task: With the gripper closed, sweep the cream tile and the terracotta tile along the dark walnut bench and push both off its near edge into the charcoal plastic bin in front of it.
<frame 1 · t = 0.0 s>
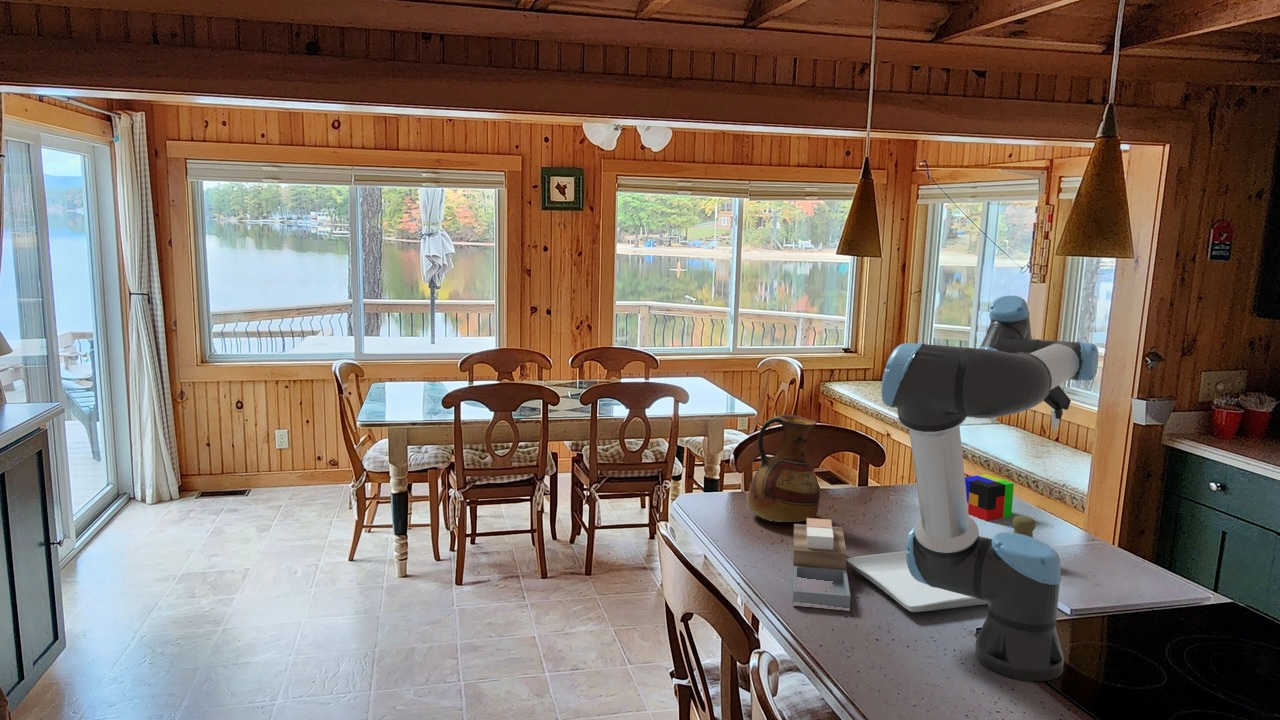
hand: (1024, 422, 193), 36 cm above the kitchen island, tool tilted 35°, fingers open, 13 cm apart
puzzle toy: (984, 514, 236), on the kitchen island
cream tile: (819, 544, 193), point 7 cm above the kitchen island, touching walnut bench
walnut bench: (818, 565, 197), on the kitchen island
terracotta tile: (818, 534, 199), point 7 cm above the kitchen island, touching walnut bench
square plate: (925, 590, 185), on the kitchen island
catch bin: (820, 595, 181), on the kitchen island
ceramic pitcher: (782, 519, 231), on the kitchen island
cork: (1021, 560, 202), on the kitchen island
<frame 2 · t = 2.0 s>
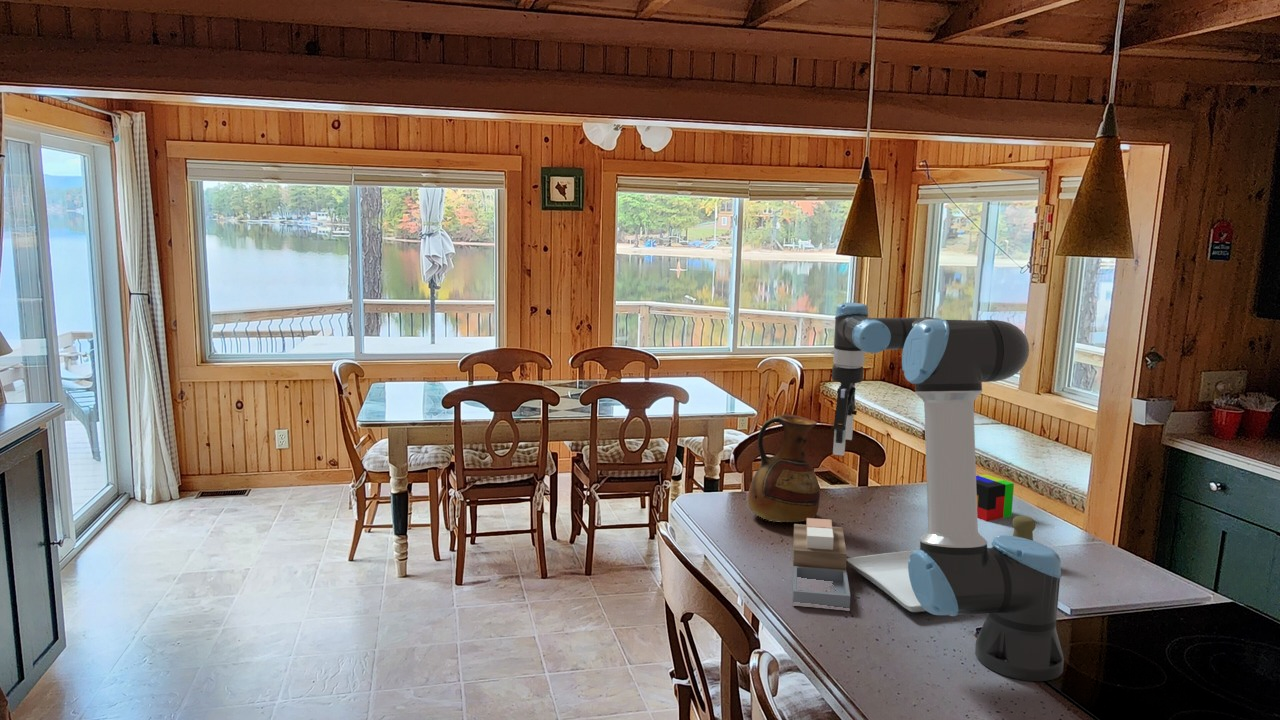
hand: (842, 446, 205), 27 cm above the kitchen island, tool pointing down, fingers open, 13 cm apart
nothing on the kitchen island moved.
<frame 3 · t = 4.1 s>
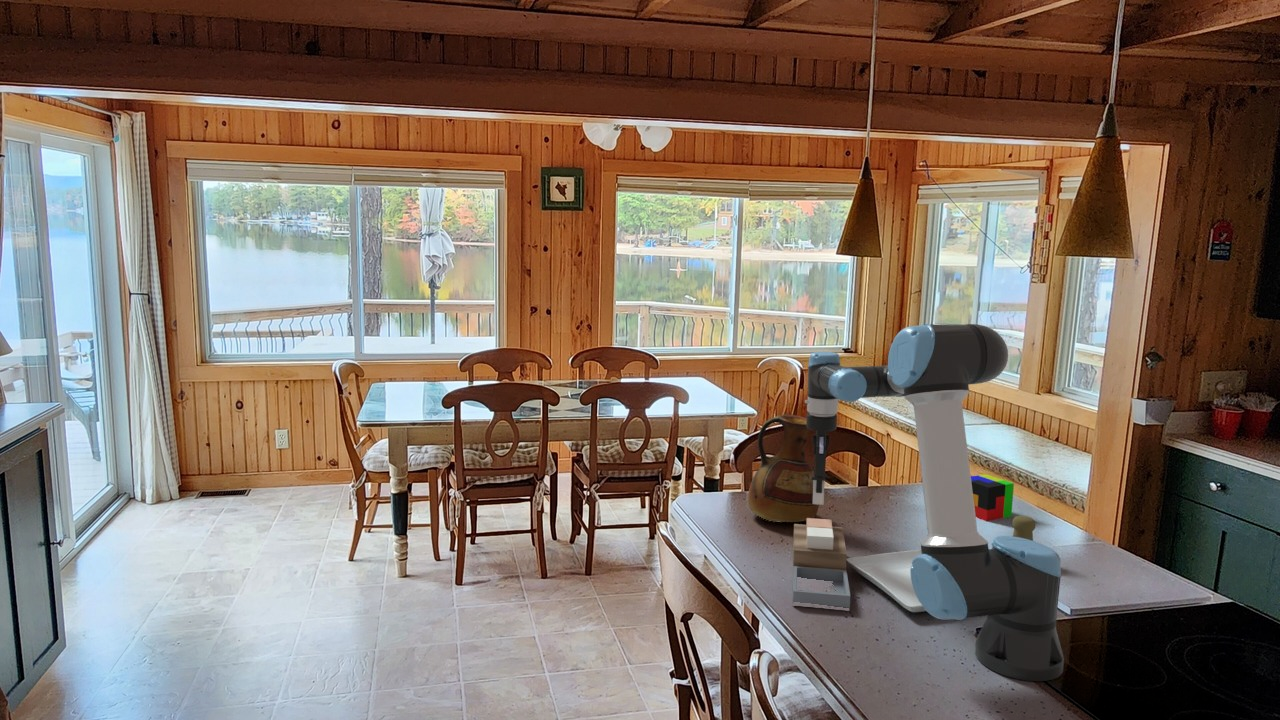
hand: (818, 503, 207), 12 cm above the kitchen island, tool pointing down, fingers closed
nothing on the kitchen island moved.
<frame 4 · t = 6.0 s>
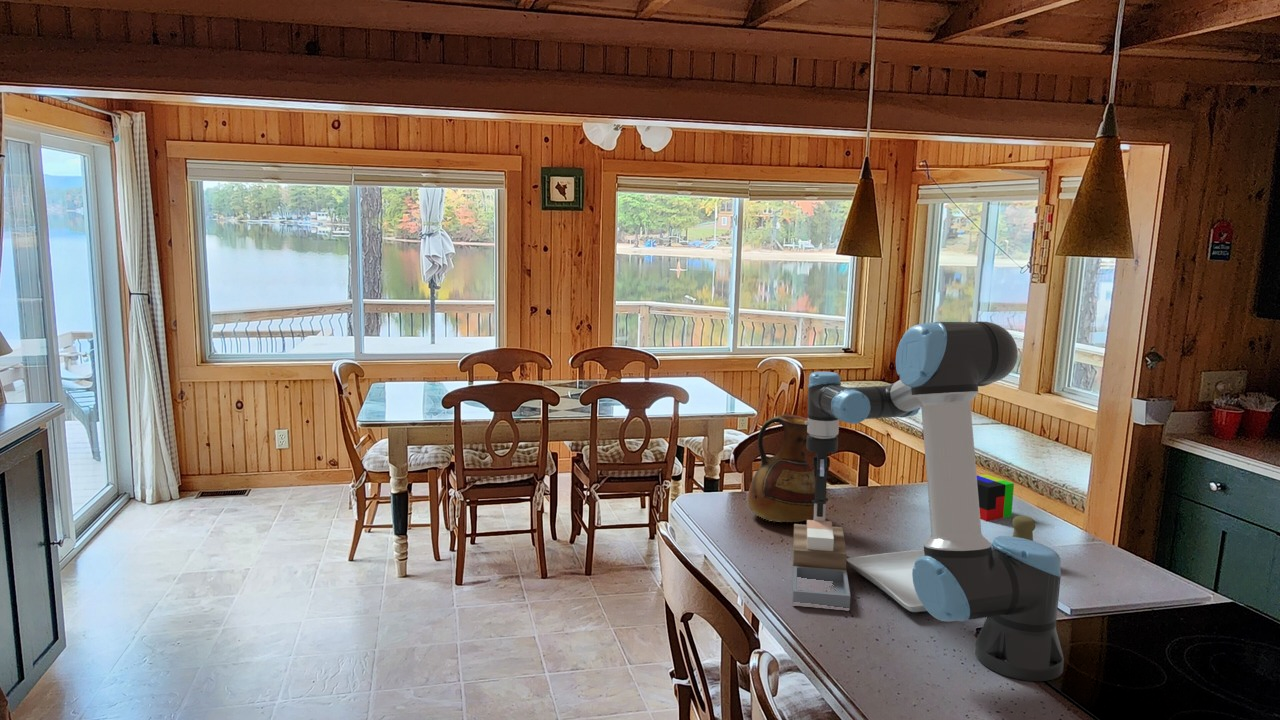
hand: (819, 527, 201), 8 cm above the kitchen island, tool pointing down, fingers closed
terracotta tile: (819, 536, 198), point 7 cm above the kitchen island, touching gripper
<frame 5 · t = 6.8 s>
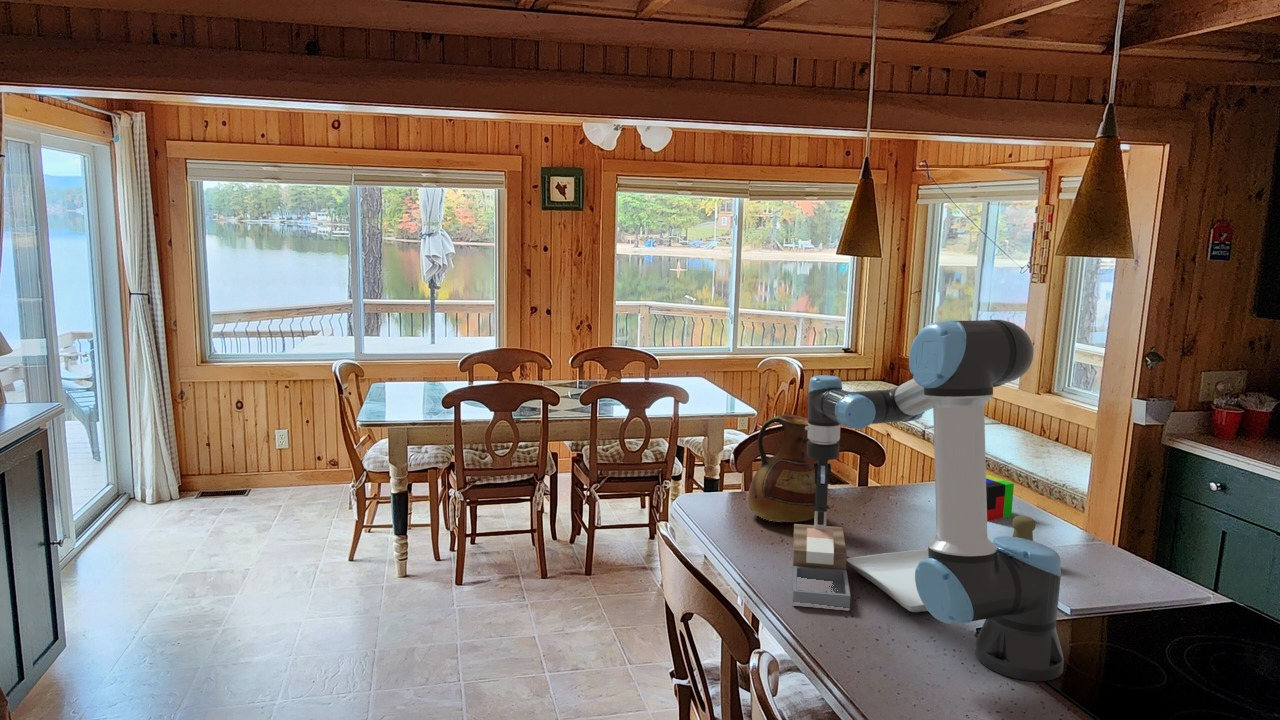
hand: (819, 535, 195), 8 cm above the kitchen island, tool pointing down, fingers closed
cream tile: (819, 556, 186), point 7 cm above the kitchen island, tilted 12°
terracotta tile: (819, 545, 192), point 7 cm above the kitchen island, touching gripper, walnut bench
everything else where it was.
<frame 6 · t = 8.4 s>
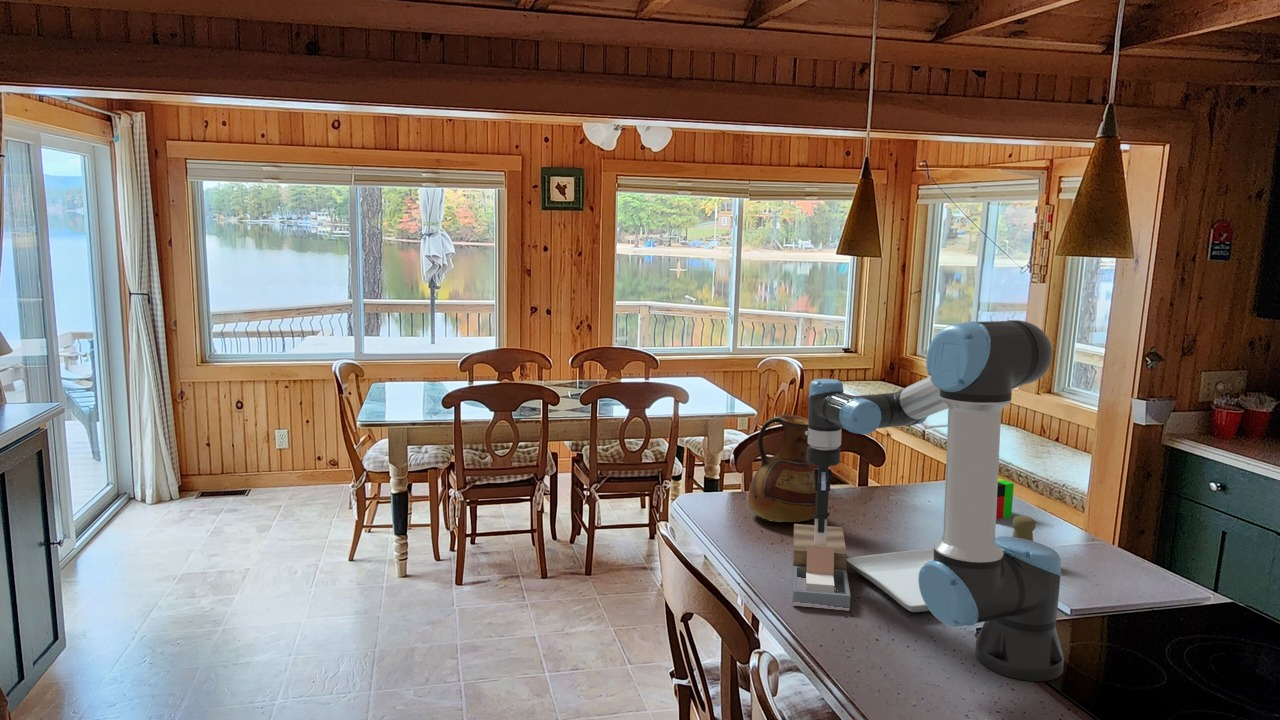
hand: (820, 543, 189), 8 cm above the kitchen island, tool pointing down, fingers closed
cream tile: (819, 578, 180), point 4 cm above the kitchen island, tilted 180°, touching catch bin, terracotta tile
terracotta tile: (819, 561, 187), point 5 cm above the kitchen island, tilted 61°, touching cream tile, walnut bench
everything else where it was.
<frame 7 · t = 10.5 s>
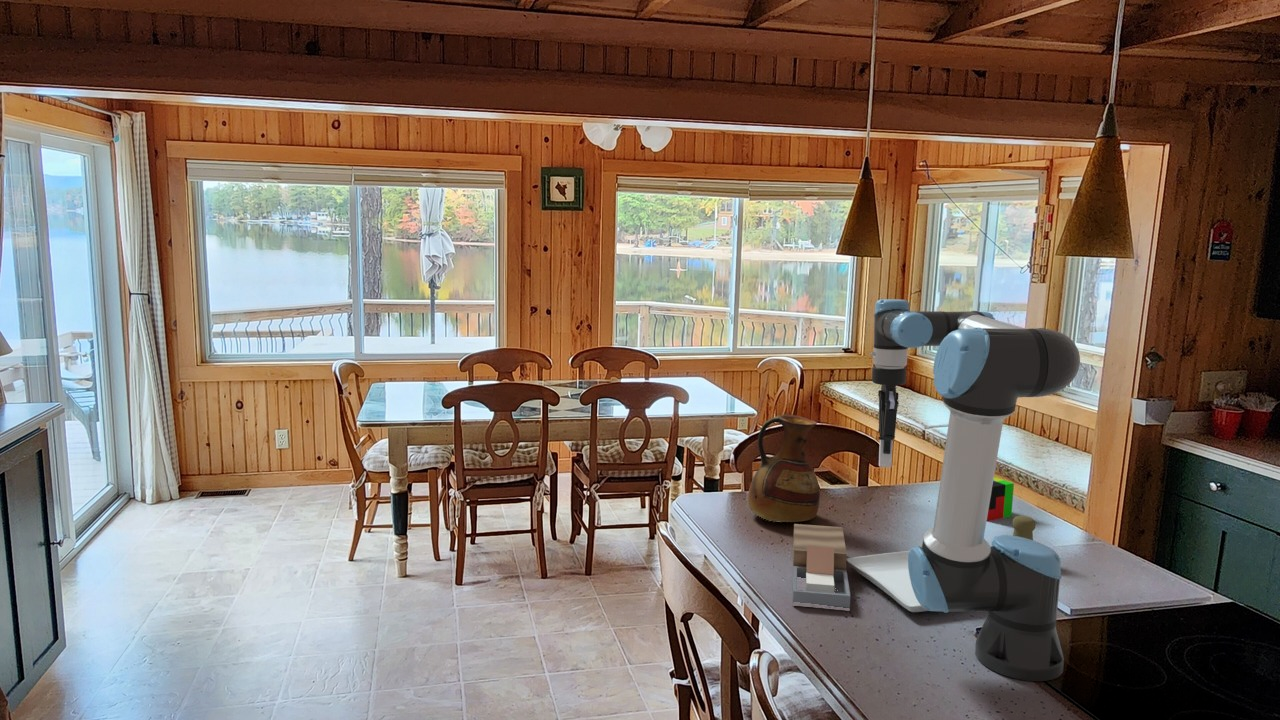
hand: (885, 466, 189), 26 cm above the kitchen island, tool pointing down, fingers closed
nothing on the kitchen island moved.
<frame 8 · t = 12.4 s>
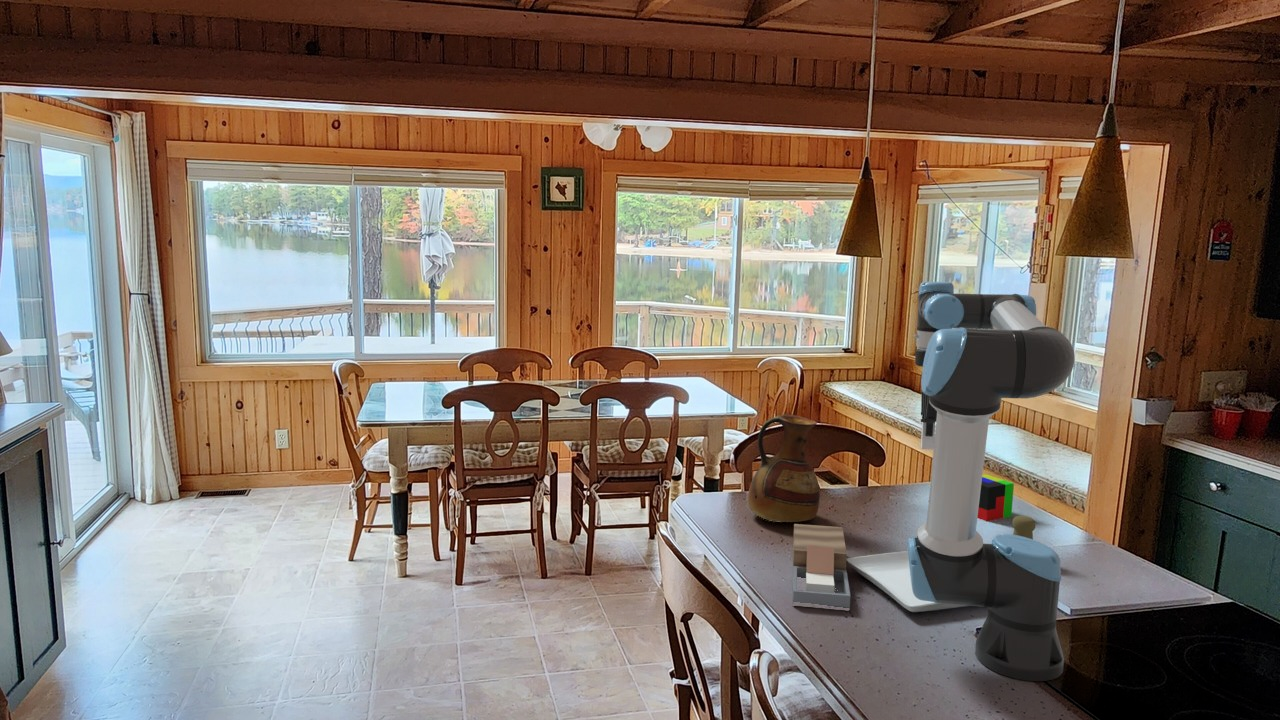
hand: (927, 448, 190), 30 cm above the kitchen island, tool pointing down, fingers closed
nothing on the kitchen island moved.
at the end: cream tile inside the target area on the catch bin (0.2 cm from its centre), point 3.8 cm above the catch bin's base; terracotta tile inside the target area on the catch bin (6.7 cm from its centre), point 5.1 cm above the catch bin's base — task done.
